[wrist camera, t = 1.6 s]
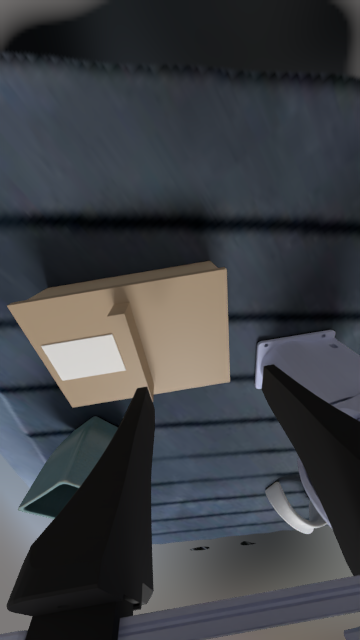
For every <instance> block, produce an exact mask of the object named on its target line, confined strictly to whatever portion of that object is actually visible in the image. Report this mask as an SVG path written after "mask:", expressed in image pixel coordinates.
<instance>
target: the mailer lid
mask: <svg viewBox="0 0 360 640" xmlns="http://www.w3.org/2000/svg"><path fill="white" fill-rule="evenodd" d="M7 307H8V308H9V310H10V311H11V313H12V314H13V316H14V318H15V319H16V321H17V322H18V324H19V325H20V327H21V328H22V330H23V332H24V333H25V335H26V336H27V338H28V339H29V341H30V342H31V344H32V346H33V347H34V349H35V350H36V352H37V353H38V355H39V356H40V358H41V359H42V361H43V363H44V364H45V366H46V367H47V369H48V370H49V372H50V373H51V375H52V377H53V378H54V380H55V381H56V383H57V384H58V386H59V387H60V389H61V390H62V392H63V394H64V395H65V397H66V398H67V400H68V401H69V403H70V404H71V406H72V408H73V407H79V406H85V405H92V404H98V403H104V402H110V401H116V400H122V399H128V398H133V396H134V394H135V391H136V389H137V388H141V387H148V390H149V393H150V396H151V399H152V402H153V395H154V394H159V393H165V392H171V391H177V390H183V389H189V388H195V387H201V386H208V385H214V384H220V383H226V382H230V365H229V332H228V300H227V269H226V268H225V267H222V268H216V269H210V270H204V271H198V272H192V273H186V274H180V275H174V276H168V277H162V278H156V279H150V280H144V281H139V282H133V283H127V284H121V285H115V286H109V287H103V288H97V289H91V290H85V291H79V292H73V293H67V294H61V295H55V296H49V297H43V298H37V299H31V300H25V301H19V302H14V303H11V304H9V305H7Z"/></svg>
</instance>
